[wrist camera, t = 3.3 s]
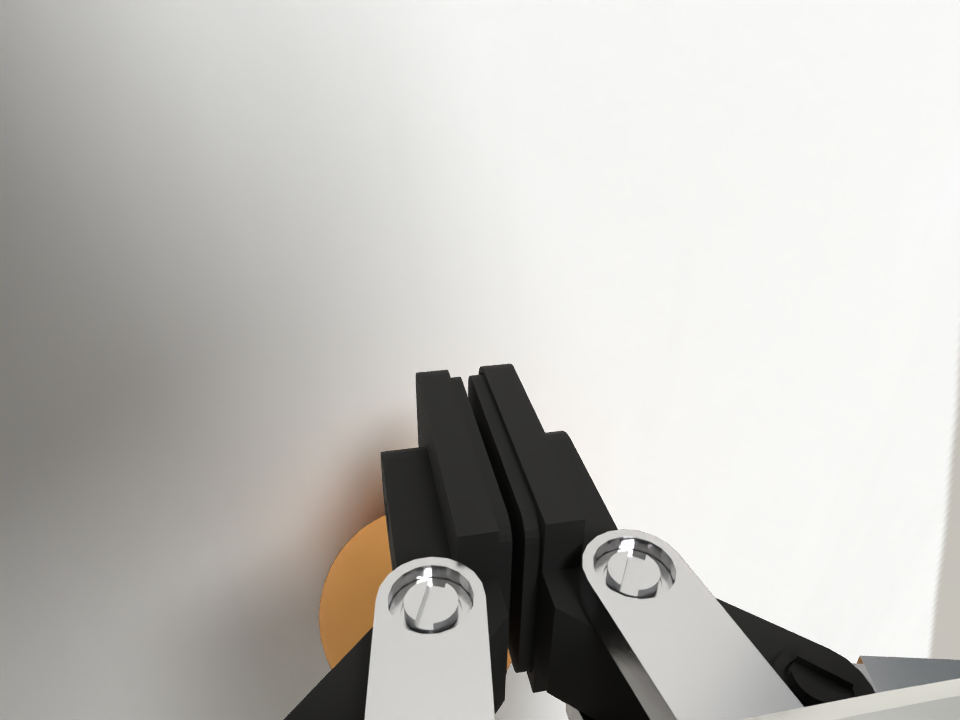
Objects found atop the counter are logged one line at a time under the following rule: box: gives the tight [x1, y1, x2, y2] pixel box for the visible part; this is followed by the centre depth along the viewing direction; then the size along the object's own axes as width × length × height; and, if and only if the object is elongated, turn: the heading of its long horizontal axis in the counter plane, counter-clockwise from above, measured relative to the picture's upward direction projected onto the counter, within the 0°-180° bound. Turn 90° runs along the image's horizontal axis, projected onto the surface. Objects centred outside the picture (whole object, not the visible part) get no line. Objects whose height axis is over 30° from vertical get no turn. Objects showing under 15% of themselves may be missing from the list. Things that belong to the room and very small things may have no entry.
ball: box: [319, 515, 512, 669], centre depth 20 cm, size 6×6×6 cm
